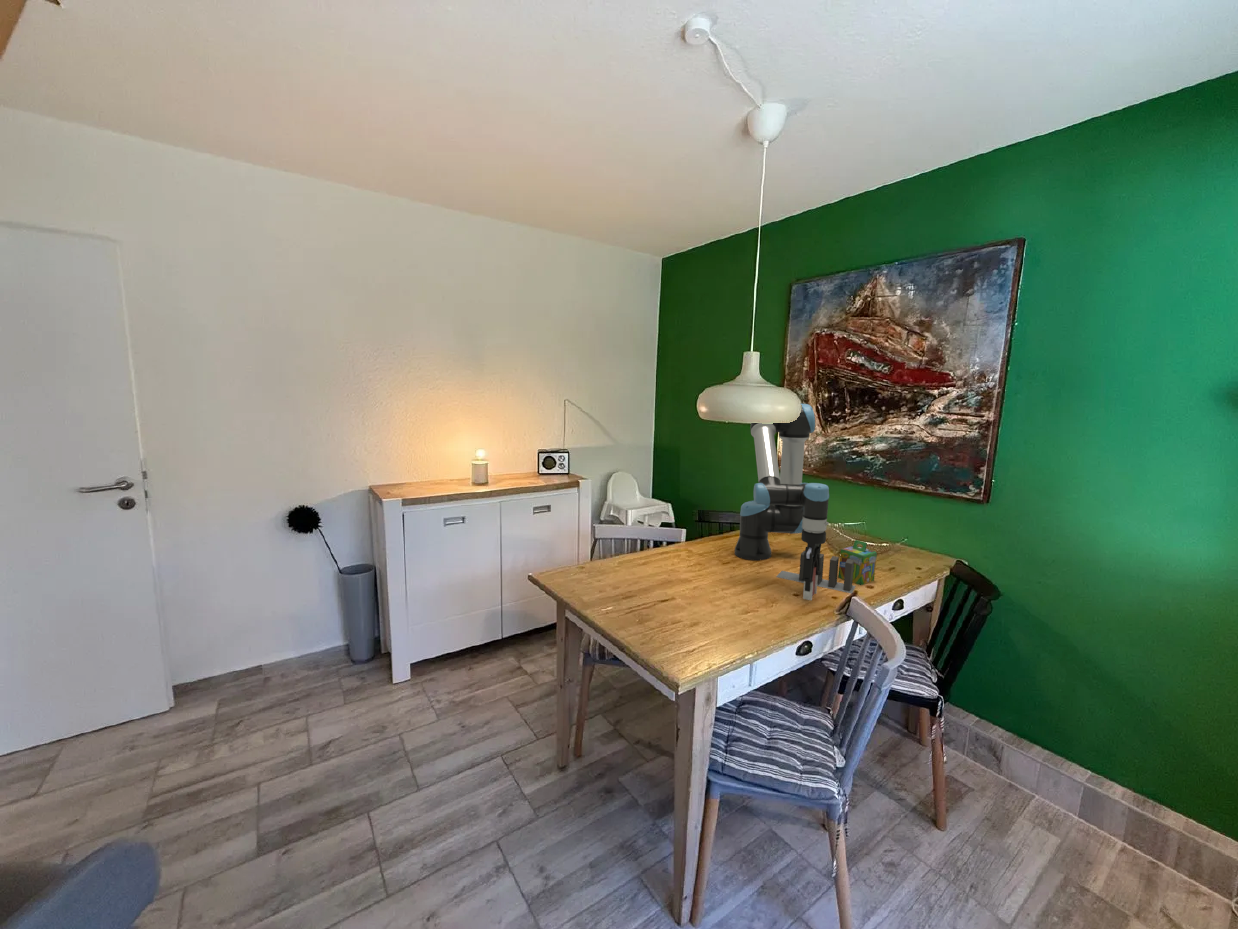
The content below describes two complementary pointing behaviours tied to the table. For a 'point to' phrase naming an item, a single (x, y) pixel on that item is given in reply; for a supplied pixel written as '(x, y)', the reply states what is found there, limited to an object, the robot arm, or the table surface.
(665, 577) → the table surface
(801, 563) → the domino
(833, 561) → the domino
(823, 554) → the domino
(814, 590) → the domino
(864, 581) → the chalk box
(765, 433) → the robot arm
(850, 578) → the domino
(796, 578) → the mat
